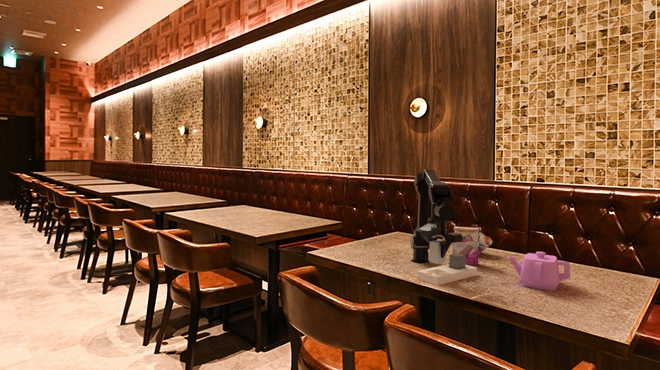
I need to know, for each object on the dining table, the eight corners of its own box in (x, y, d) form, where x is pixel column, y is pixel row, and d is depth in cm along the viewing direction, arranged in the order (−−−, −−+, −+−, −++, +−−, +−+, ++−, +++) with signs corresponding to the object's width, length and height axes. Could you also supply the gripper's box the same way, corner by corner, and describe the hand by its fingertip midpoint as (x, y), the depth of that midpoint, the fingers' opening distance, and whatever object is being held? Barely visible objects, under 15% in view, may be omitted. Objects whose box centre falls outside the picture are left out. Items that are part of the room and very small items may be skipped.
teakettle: (537, 293, 143) (538, 258, 142) (505, 279, 159) (506, 248, 158) (576, 289, 147) (578, 256, 146) (541, 276, 163) (542, 246, 163)
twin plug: (449, 274, 163) (449, 254, 163) (456, 272, 166) (457, 253, 166) (457, 276, 160) (457, 256, 160) (465, 274, 163) (465, 255, 163)
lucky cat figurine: (479, 250, 211) (492, 228, 204) (485, 264, 200) (498, 242, 194) (452, 241, 210) (464, 220, 204) (456, 255, 200) (469, 233, 193)
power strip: (417, 279, 157) (417, 270, 157) (456, 270, 171) (456, 261, 171) (437, 286, 149) (437, 276, 149) (476, 276, 163) (477, 266, 162)
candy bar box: (452, 264, 182) (453, 227, 181) (452, 261, 187) (453, 226, 186) (478, 266, 178) (479, 229, 177) (478, 263, 183) (479, 227, 182)
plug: (429, 261, 156) (429, 241, 156) (437, 259, 159) (438, 239, 159) (437, 263, 153) (438, 243, 152) (446, 262, 156) (446, 241, 155)
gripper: (406, 215, 158) (405, 254, 159) (444, 221, 143) (443, 265, 144) (425, 213, 164) (424, 251, 165) (464, 219, 149) (463, 260, 150)
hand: (437, 256), depth 156 cm, fingers closed on plug, 4 cm apart
